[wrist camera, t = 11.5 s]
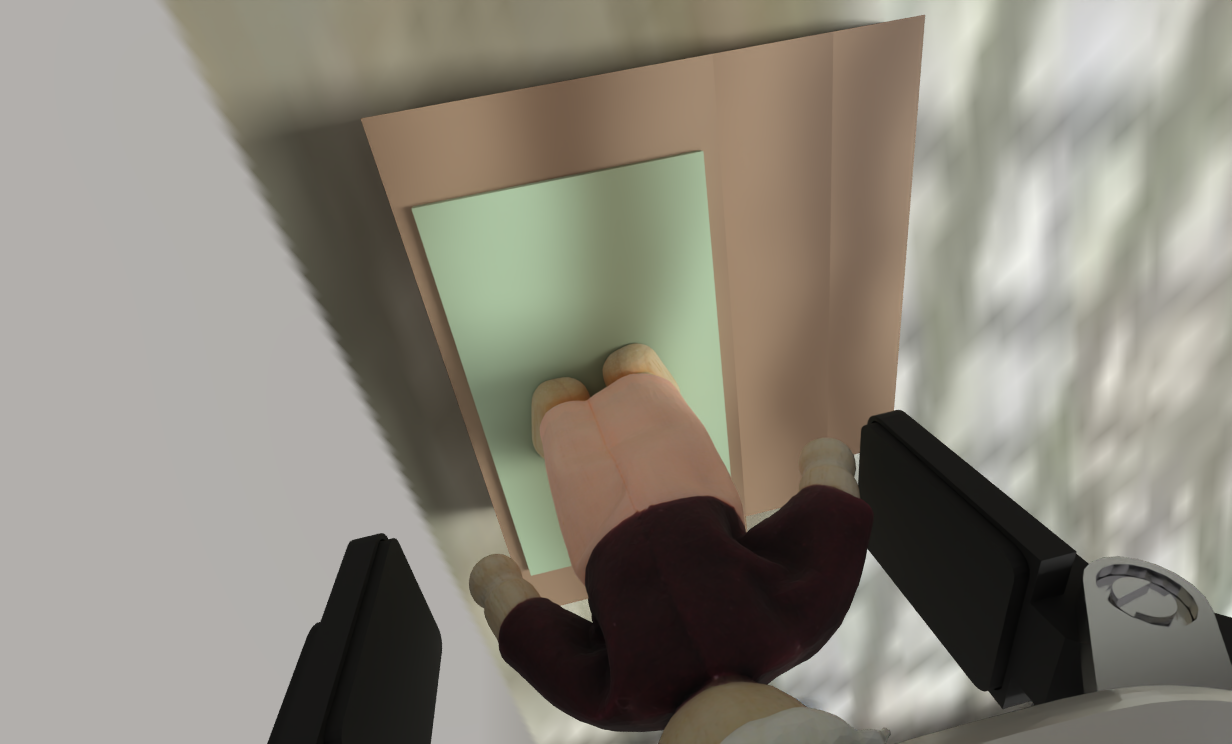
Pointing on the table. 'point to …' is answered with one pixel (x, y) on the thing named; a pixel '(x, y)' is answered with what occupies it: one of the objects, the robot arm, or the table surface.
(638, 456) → the grandmother figurine
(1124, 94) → the table surface
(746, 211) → the step riser
